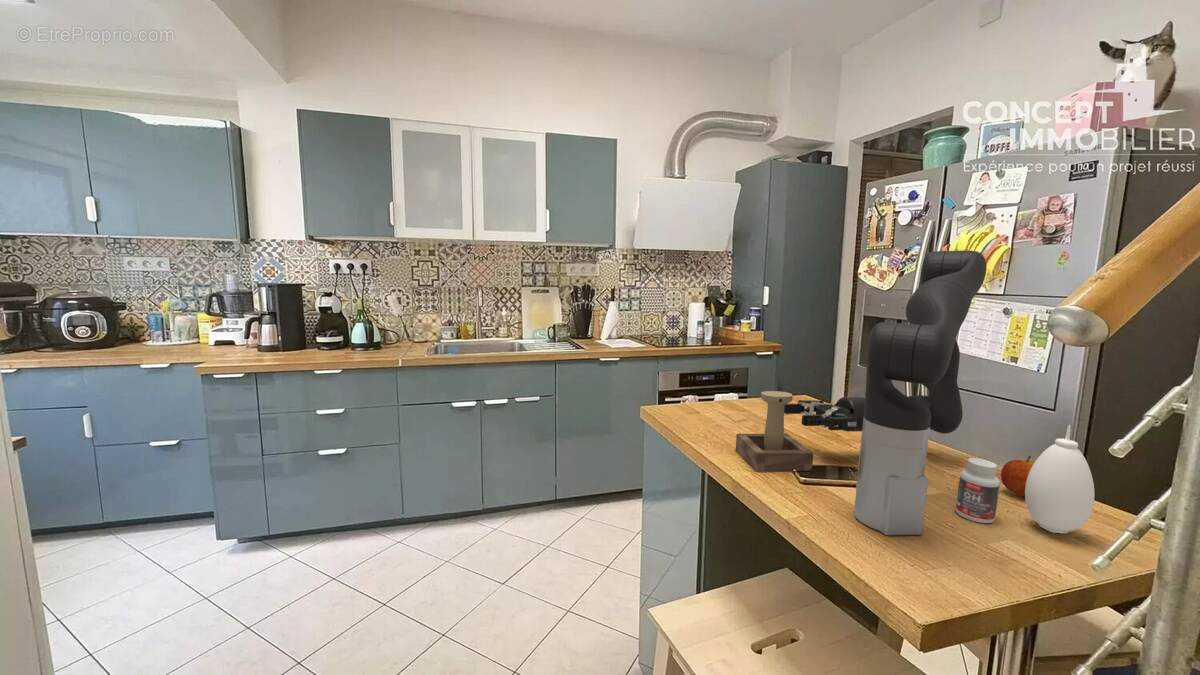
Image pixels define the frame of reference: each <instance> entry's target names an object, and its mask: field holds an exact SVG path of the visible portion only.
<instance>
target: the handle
mask: <svg viewBox="0 0 1200 675" xmlns="http://www.w3.org/2000/svg"><path fill="white" fill-rule="evenodd" d="M793 397H794V396H793V394H792V393H790V392H787V391H778V390H775V391H774V390H768V391H766V390H765V391H761V392H760V398H761V400H762V401H764V402H765V403H767V410H766V411H767V412H766V418H765V419H766V420H765V427H764V433H763V434H764V449H765V450H782V447H783V439H784V432H785V428H784V427H785V420H784V419H785V413H784V407H785V405H786V404H791V402H793Z"/></svg>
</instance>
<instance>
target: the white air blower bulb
mask: <svg viewBox="0 0 1200 675" xmlns="http://www.w3.org/2000/svg"><path fill="white" fill-rule="evenodd" d="M1071 429H1072V428H1071V424H1069V425H1068V426H1067V428H1066V432H1065V433H1066V434H1065V438H1056V439H1055V440H1054V444H1051V445H1050V446H1049V447H1047V448H1046V449H1045V450H1044V451H1043V452H1042V453H1041V454H1040V455H1039V456H1038V457H1037V459H1036V460H1035V461H1034V462H1035V463H1034V464H1033V466H1032V468H1031V470H1030V472H1029V475H1028V478H1027V481H1026V487H1025V498H1024V500H1025V504H1026V507H1027V510H1028V512H1029V514H1030V516H1031V518H1032V519H1033V520H1034V521H1036V522H1037V524H1038V525H1039V526H1040V527H1041V528H1043V529H1046V530H1045V531H1047V530H1048V531H1050V532H1049V533H1051V532H1053V533H1052V534H1055V533H1060V534H1068V533H1069V532H1075V531H1077V530H1079V529H1080V528H1082V527H1083V526H1084V524H1085V523H1086V522H1087V521H1088V520H1089V518H1090V516H1091V514H1092V511H1093V508H1094V504H1095V486H1094V485H1095V484H1094V480H1093V475H1092V471H1091V469H1090V468H1091V467H1090V466H1089V464H1088V462H1087V459H1086V458H1085V456H1084V455H1083V453H1082V452H1081V450H1080V449H1078V448H1079V443H1078V442H1077V441H1075V440H1071V439H1070V438H1071ZM1048 531H1047V532H1048Z"/></svg>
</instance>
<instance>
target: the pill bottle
mask: <svg viewBox="0 0 1200 675" xmlns="http://www.w3.org/2000/svg"><path fill="white" fill-rule="evenodd" d="M997 469H998V465H997V464H996V463H995V462H992V461H989V460H987V459H983V458H977V457H970V458H968V459H967V460H966V469H963V470H962V471H961V472H960V473H959V480H958V481H959V482H958V489H957V496H956V502H955V512H956V513H957V514H958V515H959V516H961V517H963V518H965V519H967V520H969V521H973V522H975V523H976V522H977V523H980V524H991V523H993V522H995V519H996V514H997V506H998V501H999V493H1000V487H1001V481H1000V479H999V478H998V477H997V476H996V474H997Z"/></svg>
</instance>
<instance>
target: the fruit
mask: <svg viewBox="0 0 1200 675" xmlns="http://www.w3.org/2000/svg"><path fill="white" fill-rule="evenodd" d="M1031 457H1032V456H1031V455H1028V458H1026V459H1021V458H1020V459H1019V458H1017V459H1011V460H1009V461H1007V462H1006V463H1004V465H1003V467H1002V468H1001V471H1000V480H1001V483H1002V484H1003V486H1004V488H1006V489H1007V490H1008V491H1009V492H1011V493H1012V494H1013V495H1015V496H1017V497H1019V498H1024V499H1025V487H1026V481H1027V478H1028V475H1029V472H1030V470H1031V468H1032V466H1033V464H1034V463H1035V461H1033V460H1031Z"/></svg>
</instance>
